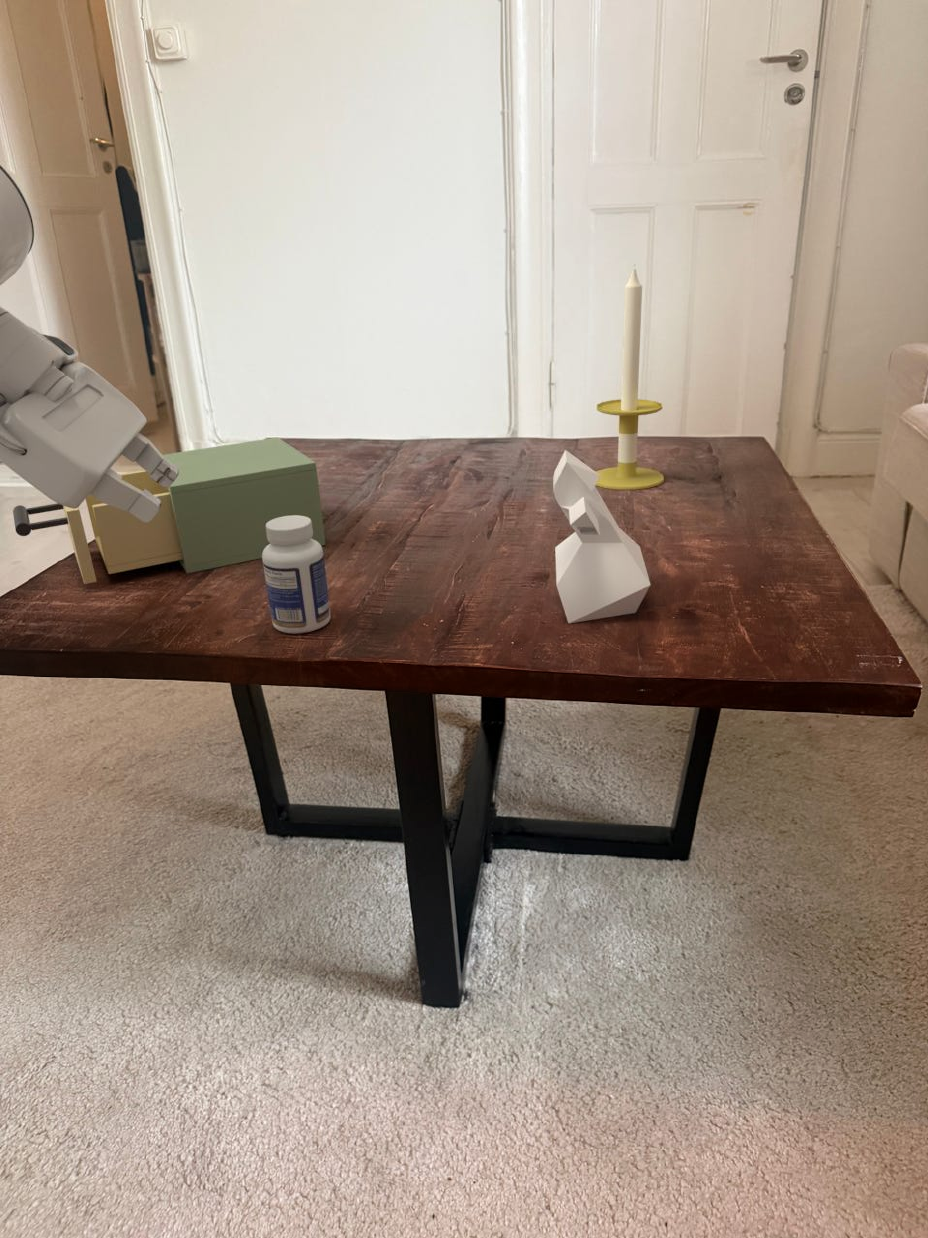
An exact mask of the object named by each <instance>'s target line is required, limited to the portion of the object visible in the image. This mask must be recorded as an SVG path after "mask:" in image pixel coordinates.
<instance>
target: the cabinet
mask: <svg viewBox="0 0 928 1238" xmlns="http://www.w3.org/2000/svg"><path fill="white" fill-rule="evenodd" d="M162 455H163V456H164V458H165V459H167V460H168V461H169V462H171V463H172V464H173V465H175V466H176V467H177V468H178V469H179V474H178V476H177V478H176V479H175V480H174V482H173V483H172V484H171V485H170V487H168V488H167V489H168V490H169V491H170V496H171V501H172V506H173V511H174V516H175V521H176V526H177V531H178V536H179V542H180V547H181V552H182V557H183V559H182V560H178V562H179V564H180V565H181V567H182V568H183V570H184V572H185V573H186V574H192V573H197V572H201V571H207V570H211V569H216V568H221V567H226V566H230V565H236V564H240V563H241V564H242V563H245V562H251V561H254V560H260V559H262V553H263V550H264V549H265V547H266V546H268V545H269V544H271V543H270V542H269V541H268V539H267V533H266V523H267V522H269V521H270V520H273V519H275V518H279V517H283V516H292V515H299V516H305V517H308V518H310V519H311V522H312V529H313V536H312V537H311V539H313V540H316V541H317V542H318V543H319V544H320V545H321V546H322V547H323V546H326V537H325V527H324V520H323V512H322V511H323V510H322V502H321V495H320V494H321V493H320V486H319V478H318V469H317V463H316V461H314V460H313V459H311V458H310V457H308V456H307V455H305V454H303V453H302V452H300V451H299V450H298V449H296V448H295V447H293V446H291V445H290V444H288V443H287V442H285V441H284V440H283V439H281V438H280V437H271V438H265V439H257V440H252V441H251V440H250V441H244V442H237V443H231V444H225V445H219V446H218V445H217V446H212V447H204V448H199V449H191V450H185V451H178V452H172V453H171V452H170V453H166V454H162Z"/></svg>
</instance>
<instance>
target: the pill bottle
mask: <svg viewBox="0 0 928 1238" xmlns="http://www.w3.org/2000/svg"><path fill="white" fill-rule="evenodd" d="M266 533H267V539H268V541H269V542H270V543H271V544H269V545H268V546H266V547H265V549H264V550H263V553H262V558H261V560H262V566H263V573H264V581H265V586H266V592H267V598H268V605H269V612H270V617H271V622H272V625H273V627H274V629H276V630H277V631H279V632H282V633H285V634H293V635H297V634H298V635H299V634H305V633H311V632H314V631H317V630H319V629H322V628H324V627H325V626H326V625H327V624H328V623H329V622H330V621H331V617H332V616H331V606H330V605H331V603H330V598H329V589H328V581H327V573H326V572H327V571H326V564H325V556H324V550H323V546H321V545H320V544H319V543H318V542H317V541H316V540H313V539H311V537H312V536H313V529H312V522H311V519H310V518H308V517H305V516H299V515H292V516H283V517H279V518H275V519H273V520H270V521H269V522H267V523H266Z"/></svg>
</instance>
